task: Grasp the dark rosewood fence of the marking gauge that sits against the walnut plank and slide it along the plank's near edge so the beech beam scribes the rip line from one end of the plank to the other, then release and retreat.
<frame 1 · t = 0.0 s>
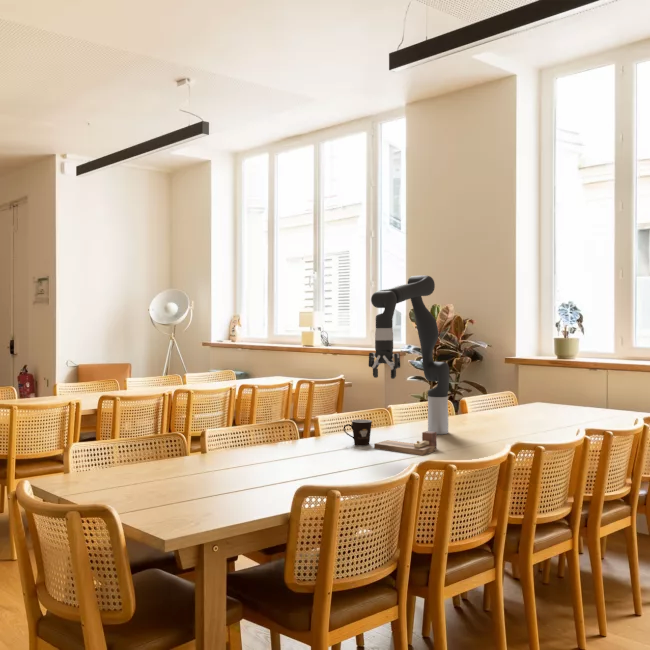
hand: (384, 378, 297), 29 cm above the table, tool pointing down, fingers open, 8 cm apart
plank: (404, 449, 294), on the table
coffee mug: (358, 444, 307), on the table
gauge: (429, 449, 295), on the table
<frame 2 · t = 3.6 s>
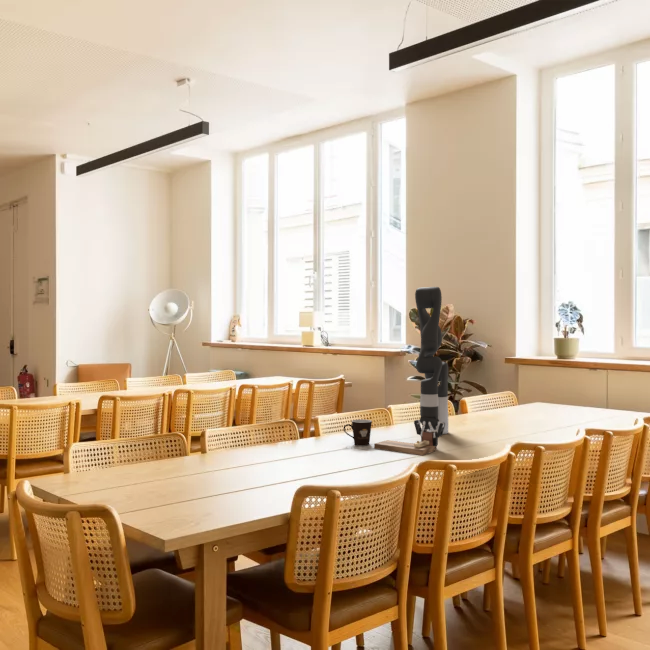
hand: (429, 445, 295), 1 cm above the table, tool pointing down, fingers closed on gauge, 4 cm apart
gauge: (429, 449, 295), on the table, touching gripper
everything else where it was.
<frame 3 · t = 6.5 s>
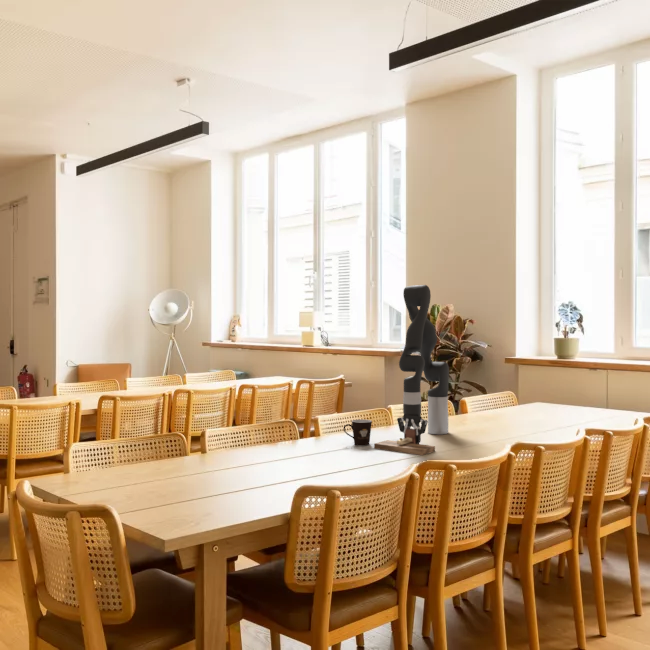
hand: (412, 442, 301), 2 cm above the table, tool pointing down, fingers closed on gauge, 4 cm apart
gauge: (412, 446, 301), on the table, touching gripper
everything else where it was.
when the fingers open (2 cm above the table, at t = 9.4 s): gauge stays where it is, on the table.
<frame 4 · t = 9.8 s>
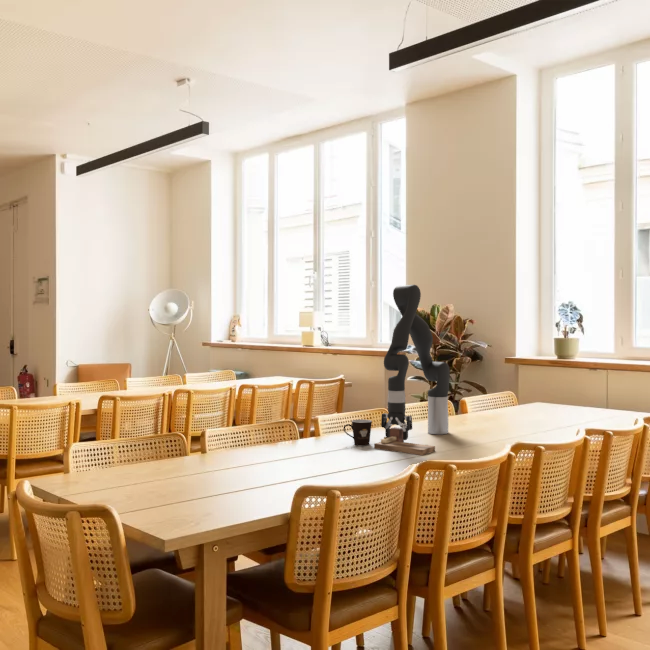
hand: (396, 438, 305), 2 cm above the table, tool pointing down, fingers open, 8 cm apart
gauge: (396, 444, 305), on the table
everything else where it was.
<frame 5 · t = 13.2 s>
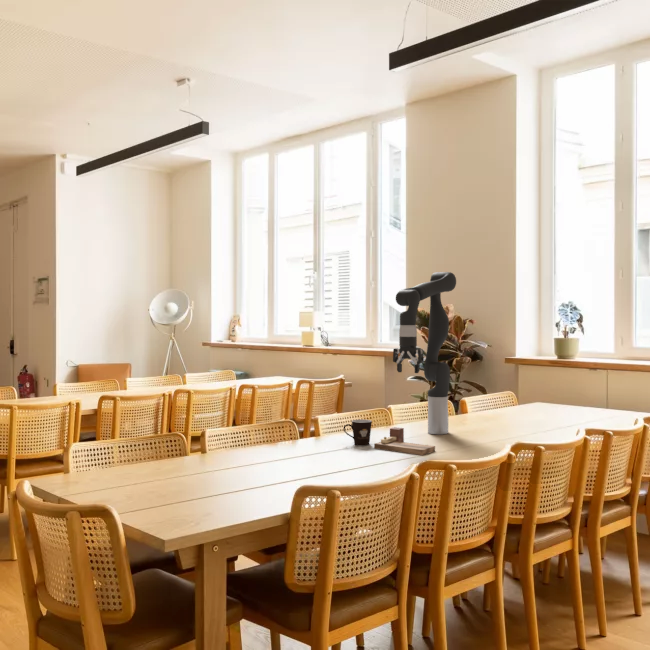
hand: (408, 372, 312), 30 cm above the table, tool pointing down, fingers open, 8 cm apart
nothing on the table moved.
at the end: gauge 0.3 cm from the target spot, on the table; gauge tilted 0°; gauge moved 16.0 cm from its start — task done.
